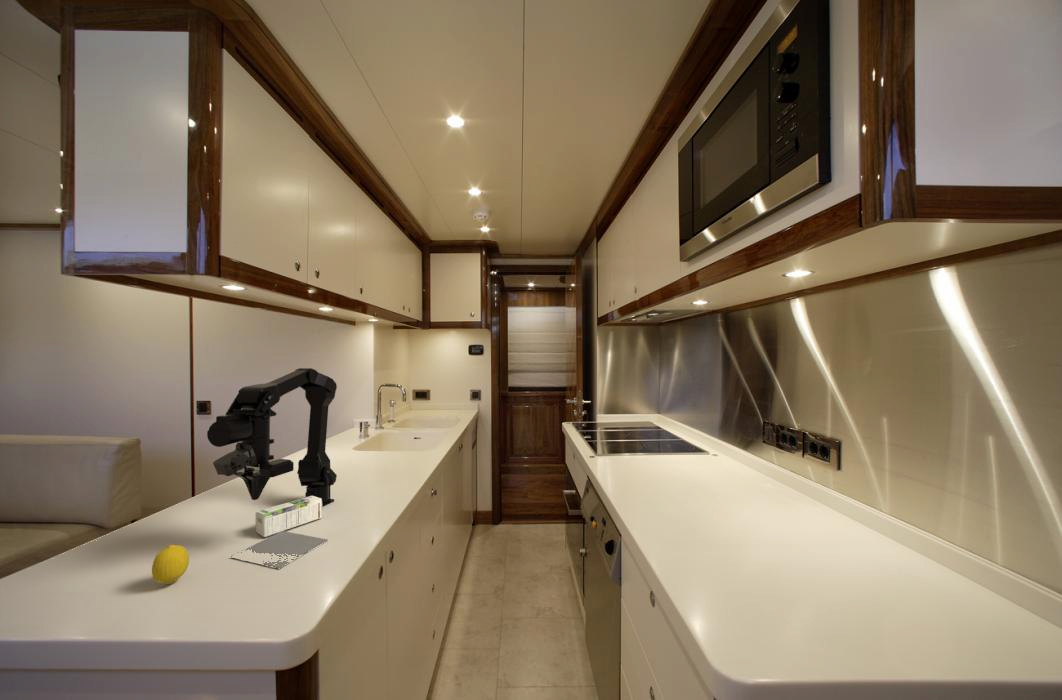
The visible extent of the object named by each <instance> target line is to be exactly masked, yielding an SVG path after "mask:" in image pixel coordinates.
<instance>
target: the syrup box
mask: <svg viewBox="0 0 1062 700" xmlns="http://www.w3.org/2000/svg"><path fill="white" fill-rule="evenodd" d="M322 518H323V507H322V499H321V498H318V497H315V496H309V497H306V498H305V497H303V498H298V499H296V500H293V501H289V502H285V503H281V504H278V505H275V506H271V507H267V508H265V509H261V510H258V511H255V530H256V531H255V532H256V534H258V535H260V536H262V537H263V538H266V537H267V538H268V537H271V536H273V535H275V534H277V533H279V532H282V531H287V530H290V529H293V528H295V527H298V526H301V525H304V524H308V523H310V522H313V521H316V520H319V519H322Z"/></svg>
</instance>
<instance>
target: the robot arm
mask: <svg viewBox="0 0 1062 700" xmlns="http://www.w3.org/2000/svg"><path fill="white" fill-rule="evenodd" d="M337 387H338V385H337V383H336V381H335V380H334V379H333V378H332V377H329V376H328V375H325V374H323V373H321V372H319V371H317V370H316V369H314V368H310V367H309V368H308V367H303V368H302V367H299V368H296V369H295V370H294V371H292V372H290V373H287V374H285V375H282V376H281V377H279V378H276V379H273V380H272V381H270V382H265V383H259V384H258V383H257V384H252V385H247V386H242V388H240V389H239V390H238V394H237V395H236V396H235V398H234V399H233V401H232V403H231V404H230V406H229V408H228V409H227V411H226V413H225V414H224V415H218V416H217V415H216V419H215V422H213V423H212V424H211V425H210V426H209V428H208V430H207V433H206V435H207V436H206V437H207V439H208V441H209V443H210V444H211V445H212V446H214V447H217V448H222V447H225V446H228V445H233V444H235V443H236V444H235V450H233V451H229V452H228V453H226V454H224V455H223V456H220V457H219V458H217V459H216V460H214V461H213V462H212V464H213V467H214V468H215V471H216V474H217V476H220V475H222V476H226V477H230V476H235V477H238V478H241V479H242V480H243V481H244V483H245V486H246V489H247V490H248V491H247V492H248V493H249V496H250V499H251V500H252V501H256V500H259V498H260V496H261V494H262V492H263V491H264V489H265V487H266V485H267V483H268V482H269V480H270V479H271V478H276V477H279V476H281V475H285V474H287V473H291V472H293V471H294V469H295V468H294V464H295V463H294V462H293V460H291V459H287V458H286V459H285V458H278V459H275V458H274V456H275V455H274V454H270V453H271V452H270V451H271V450H270V449H271V445H272V444H275V439H274V438H271V436H270V435H271V417H275V416H277V412H276V411H274V410H273V409H272V408H273V407H274V406H275V405H277V404H278V403H279V402H280V400H281V397H283V396H284V395H287V394H288V393H290V392H292V391H295V390H296V389H298V388H301V389H302V390H303V391H305V393H304V394H305V396H304V397H305V399H306V400H307V402H308V404H309V407H310V409H309V420H308V421H309V422H308V435H307V436H308V437H307V448H306V454H305V455H304V457H303V458H302V459H299V460H298V462H297V463H298V465H297V466H298V468H297V473H296V474H297V475H298V477H297V478H298V480H299V483H300V486H301V487H306V488H305V489H306V490H305V491H306V492H305V494H304V496H305V497H304V498H306V497H309V496H315V497H318V498H321V499H322V508H323V507H325V506H327V505H329V504H331V503H333V502H334V501H335V499H334V498H331V486H333V485H334V484H335V483H336V482H337V477H338V475H337V473H335V471H334V470H333V469H332V468H331V459H330V457H329V456H328V454H327V452H326V448H327V447H326V446H327V445H326V443H327V432H328V431H327V430H328V417H329V406H330V405H331V403H332V402H333V401H334V399H335V397H336V392H337ZM274 459H275V460H274Z"/></svg>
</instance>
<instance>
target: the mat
mask: <svg viewBox="0 0 1062 700" xmlns="http://www.w3.org/2000/svg"><path fill="white" fill-rule="evenodd" d="M326 541H327V542H328V539H326V538H321V537H315V536H312V535H310V536H309V535H307V534H306V535H305V534H300V533H296V532H290V531H287V530H284V531H282V532H279V533H276V534H273V535H270V536H268V537H267V538H264V539H263V540H261V541H259V542H257V543H255V544H253V545H251V546H249V547H247V548H245V549H246V550H248V549H249V550H251V549H252V552H253V553H254V551H255V552H256V553H260V554H261V553H264V554H265V553H269V554H272V553H274V554H275V555H277V554H281V555H282V554H284V555H283V556H286V557H288V556H287V555H286V554H288V555H291V556H296V554H297V556H296V557H299V555H302V554H304V553H306V552H308V551H309V550H311V549H313V548H315V547H317V546H318V545H320V544H322V543H323V544H325V543H326ZM324 542H325V543H324ZM323 544H322V545H323ZM320 546H321V545H320ZM250 547H251V548H250ZM318 547H319V546H318ZM318 547H317V548H318ZM245 549H244V550H245ZM315 549H316V548H315ZM246 550H245V551H246ZM313 550H314V549H313ZM239 552H240V551H239ZM239 552H237V553H239ZM241 553H242V552H241ZM285 553H286V554H285ZM308 553H309V552H308ZM292 554H295V555H292ZM233 555H234V554H233ZM233 555H230V556H231V557H232V556H233ZM281 555H277V556H279V557H282V556H281ZM271 556H273V555H271ZM282 558H283V557H282ZM294 558H295V557H294ZM271 559H272V558H271ZM279 559H281V558H279ZM286 559H288V558H286ZM286 559H284V560H286ZM291 560H294V559H291ZM279 561H281V560H278V561H277V562H272V563H271V562H269V561H268V562H269V563H267V562H265V563H263V564H264V565H268V566H273V567H276V568H281V567H282V566H284V565H285V564H287V563H289V562H287V561H288V560H287V561H283V562H279ZM263 562H264V561H263ZM275 563H277V564H275ZM273 564H275V565H273ZM281 569H282V568H281Z"/></svg>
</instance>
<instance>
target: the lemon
mask: <svg viewBox="0 0 1062 700" xmlns="http://www.w3.org/2000/svg"><path fill="white" fill-rule="evenodd" d="M189 564H190V555H189V551H188V550H187V548H185V547H184V546H182V545H178V544H176V545H175V544H169V545H168V546H167V547H165V548H163V549H162V550H161V551H159V553H157V554H156V556H155V558H154V559H153V561H152V566H151V575H152V578H153V579H154V580H155V581H156V582H157V583H159V584H167V585H172V584H173V583H174V582H175V581H176V580H179V579H180V578H181V577H182V576H183V575H184V574H186V572H187V570H188V567H189Z"/></svg>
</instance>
